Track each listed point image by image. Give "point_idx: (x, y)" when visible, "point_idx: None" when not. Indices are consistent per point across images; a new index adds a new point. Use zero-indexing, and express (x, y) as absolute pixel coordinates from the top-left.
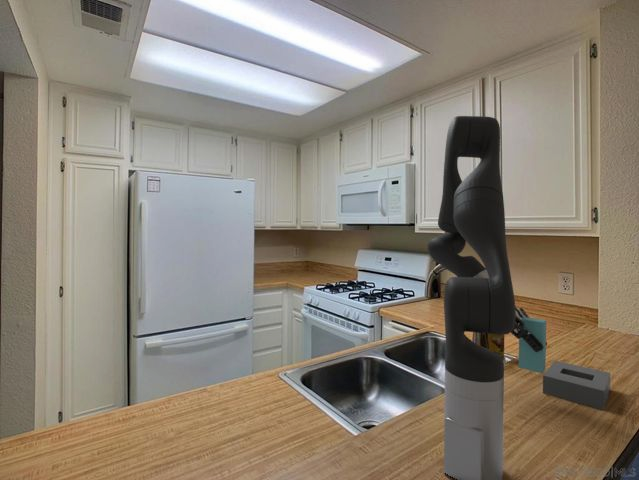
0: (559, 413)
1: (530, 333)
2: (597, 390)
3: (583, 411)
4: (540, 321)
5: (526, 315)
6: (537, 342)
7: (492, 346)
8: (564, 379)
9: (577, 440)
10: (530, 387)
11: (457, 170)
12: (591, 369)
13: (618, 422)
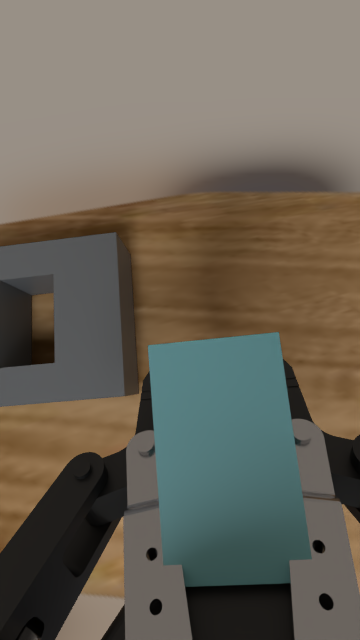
0: (238, 322)
1: (305, 423)
2: (117, 249)
3: (176, 285)
4: (249, 368)
5: (11, 586)
6: None
7: None
8: (107, 334)
9: (346, 257)
10: (124, 433)
11: None
12: None
13: (173, 220)
